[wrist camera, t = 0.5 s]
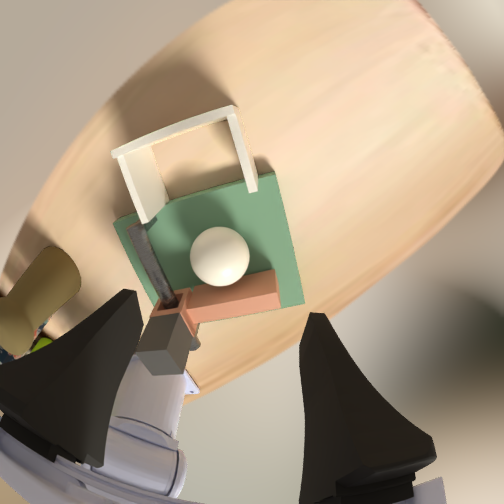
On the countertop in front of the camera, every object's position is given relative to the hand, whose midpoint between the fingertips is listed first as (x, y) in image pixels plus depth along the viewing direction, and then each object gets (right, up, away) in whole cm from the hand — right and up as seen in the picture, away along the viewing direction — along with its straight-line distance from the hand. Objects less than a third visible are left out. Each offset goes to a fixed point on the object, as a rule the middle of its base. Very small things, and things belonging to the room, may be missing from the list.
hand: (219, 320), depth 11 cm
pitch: (-2, +2, +11) cm, 12 cm away
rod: (-5, +1, +11) cm, 12 cm away
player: (-1, 0, +11) cm, 11 cm away
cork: (-19, +1, +13) cm, 23 cm away
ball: (-1, +2, +8) cm, 8 cm away
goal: (-2, +10, +8) cm, 12 cm away
